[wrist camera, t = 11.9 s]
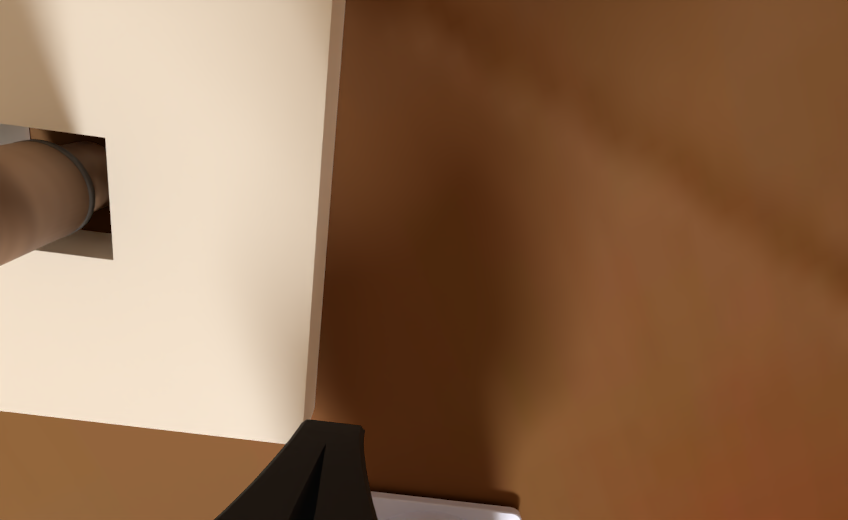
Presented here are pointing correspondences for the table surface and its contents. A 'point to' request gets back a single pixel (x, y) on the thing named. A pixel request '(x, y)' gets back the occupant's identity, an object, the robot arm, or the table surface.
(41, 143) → the walnut peg
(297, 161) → the cream board
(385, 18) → the table surface
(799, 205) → the table surface
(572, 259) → the table surface
